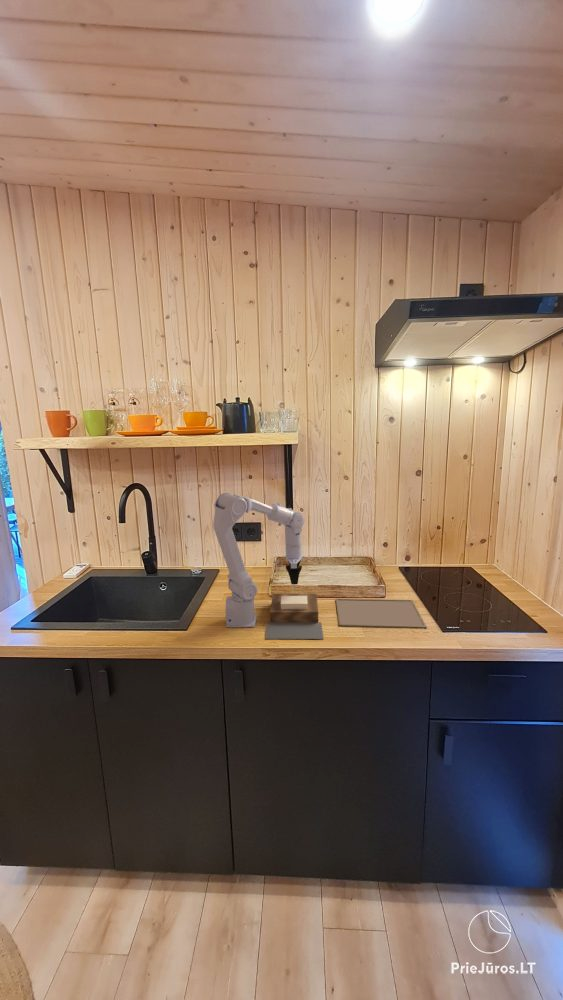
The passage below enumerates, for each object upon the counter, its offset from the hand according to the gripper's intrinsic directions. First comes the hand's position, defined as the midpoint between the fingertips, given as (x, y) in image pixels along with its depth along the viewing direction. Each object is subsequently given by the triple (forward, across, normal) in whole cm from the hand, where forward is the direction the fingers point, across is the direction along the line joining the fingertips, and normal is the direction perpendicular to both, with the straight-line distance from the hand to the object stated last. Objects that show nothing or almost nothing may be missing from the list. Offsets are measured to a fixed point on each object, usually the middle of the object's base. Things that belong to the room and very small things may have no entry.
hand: (294, 579), depth 146 cm
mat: (+9, -19, 0) cm, 21 cm away
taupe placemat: (+11, -7, -29) cm, 31 cm away
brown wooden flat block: (+10, -7, 0) cm, 12 cm away
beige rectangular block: (+6, -9, 0) cm, 10 cm away
